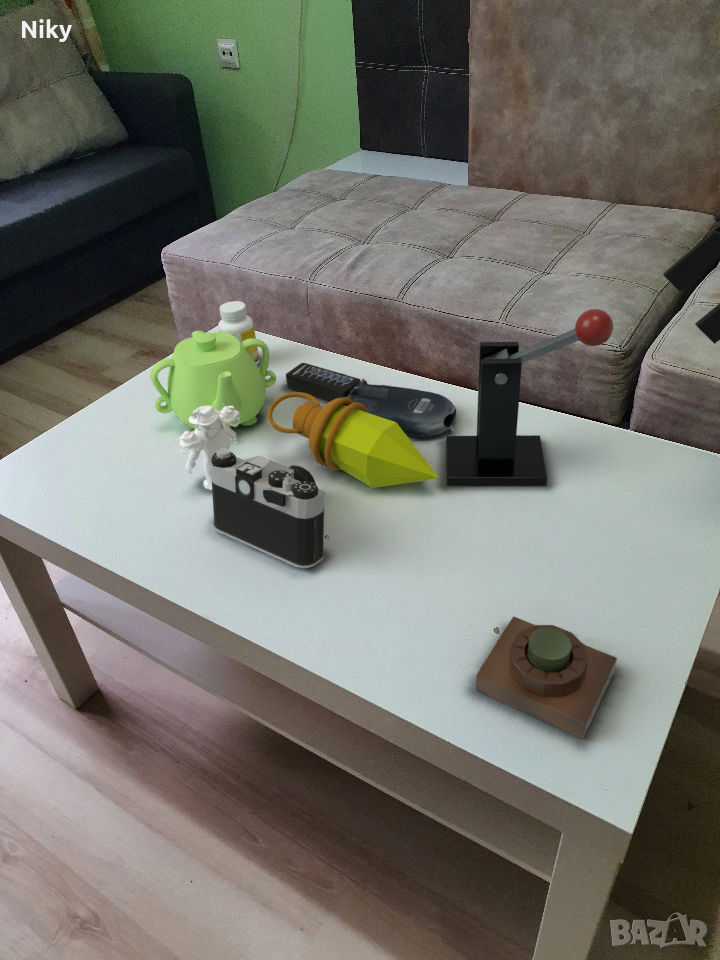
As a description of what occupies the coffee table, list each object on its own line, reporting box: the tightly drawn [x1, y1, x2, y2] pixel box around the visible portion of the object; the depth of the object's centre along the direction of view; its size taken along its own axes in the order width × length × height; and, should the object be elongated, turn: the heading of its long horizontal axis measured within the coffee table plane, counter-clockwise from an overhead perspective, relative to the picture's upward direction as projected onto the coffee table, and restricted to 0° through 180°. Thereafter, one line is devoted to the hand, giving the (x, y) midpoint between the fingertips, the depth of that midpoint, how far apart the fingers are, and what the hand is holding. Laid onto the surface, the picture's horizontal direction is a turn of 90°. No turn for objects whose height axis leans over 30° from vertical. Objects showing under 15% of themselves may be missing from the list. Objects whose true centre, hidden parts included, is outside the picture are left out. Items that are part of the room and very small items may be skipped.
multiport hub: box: [285, 362, 362, 402], centre depth 111 cm, size 4×11×2 cm, turn 55°
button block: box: [475, 616, 618, 740], centre depth 67 cm, size 10×8×4 cm
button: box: [528, 627, 571, 672], centre depth 66 cm, size 4×4×2 cm
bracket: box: [445, 341, 548, 487], centre depth 90 cm, size 12×9×16 cm
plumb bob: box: [267, 391, 440, 489], centre depth 94 cm, size 9×9×25 cm
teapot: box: [149, 330, 277, 430], centre depth 104 cm, size 16×14×13 cm
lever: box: [484, 308, 614, 364], centre depth 84 cm, size 14×4×4 cm, turn 85°
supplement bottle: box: [217, 300, 260, 365], centre depth 117 cm, size 5×5×10 cm
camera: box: [210, 448, 326, 569], centre depth 85 cm, size 15×11×10 cm
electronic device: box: [347, 378, 457, 438], centre depth 104 cm, size 9×6×15 cm
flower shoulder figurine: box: [177, 403, 240, 491], centre depth 92 cm, size 9×4×12 cm, turn 142°
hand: (686, 307), depth 79 cm, fingers open, 13 cm apart
